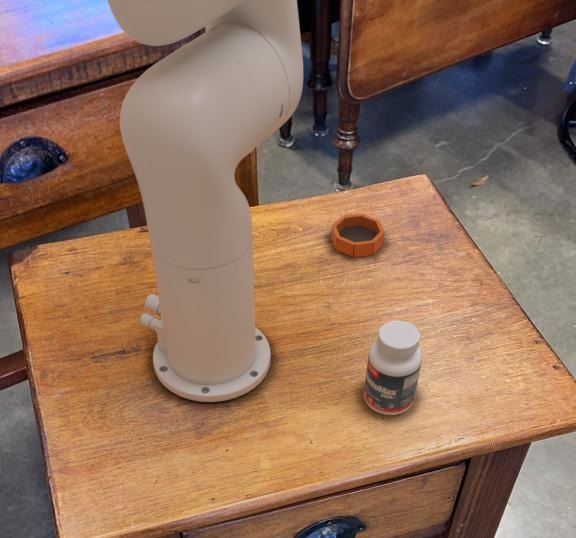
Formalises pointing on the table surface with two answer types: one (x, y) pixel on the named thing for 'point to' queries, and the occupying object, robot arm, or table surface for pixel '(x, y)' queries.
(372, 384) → the pill bottle
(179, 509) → the table surface
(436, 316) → the table surface
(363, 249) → the bowl
